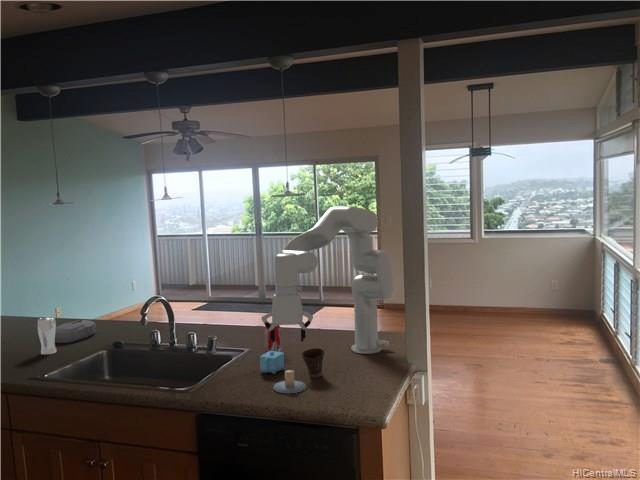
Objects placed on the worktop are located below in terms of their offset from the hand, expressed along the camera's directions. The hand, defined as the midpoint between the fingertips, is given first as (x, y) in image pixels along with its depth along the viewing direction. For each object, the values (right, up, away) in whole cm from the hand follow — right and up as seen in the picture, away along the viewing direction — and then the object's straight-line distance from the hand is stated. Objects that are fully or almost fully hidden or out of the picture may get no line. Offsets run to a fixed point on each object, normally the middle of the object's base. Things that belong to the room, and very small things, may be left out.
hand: (288, 340), depth 168 cm
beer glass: (-107, -15, +49) cm, 118 cm away
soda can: (-9, -13, +41) cm, 44 cm away
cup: (+8, -15, +11) cm, 21 cm away
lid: (0, -16, +1) cm, 17 cm away
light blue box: (-7, -15, +19) cm, 25 cm away
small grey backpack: (-107, -14, +71) cm, 129 cm away
